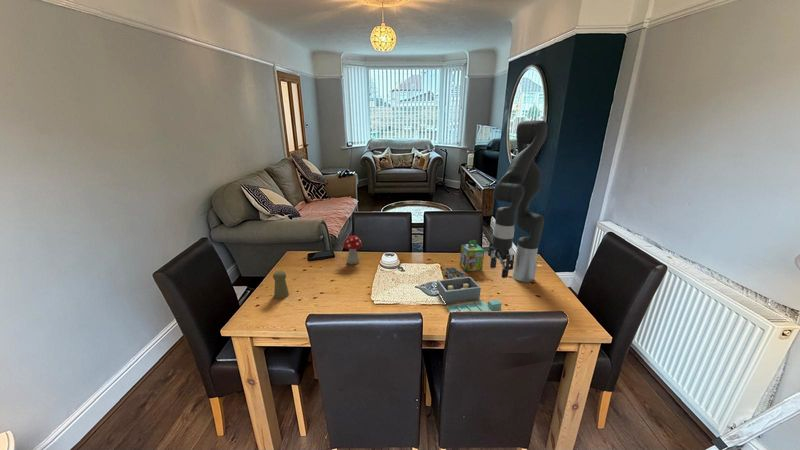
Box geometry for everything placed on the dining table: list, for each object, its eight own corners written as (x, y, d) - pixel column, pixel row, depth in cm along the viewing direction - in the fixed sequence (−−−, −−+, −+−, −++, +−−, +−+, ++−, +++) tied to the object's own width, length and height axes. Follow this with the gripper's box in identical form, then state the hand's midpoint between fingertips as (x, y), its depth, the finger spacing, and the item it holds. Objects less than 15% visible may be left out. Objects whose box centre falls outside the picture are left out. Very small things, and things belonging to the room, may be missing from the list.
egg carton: (466, 281, 156) (467, 273, 155) (452, 283, 154) (453, 276, 152) (455, 271, 166) (456, 264, 164) (442, 273, 163) (442, 266, 162)
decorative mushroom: (359, 257, 178) (359, 232, 173) (364, 264, 171) (364, 237, 166) (341, 260, 174) (340, 234, 169) (346, 267, 167) (345, 240, 162)
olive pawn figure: (280, 300, 137) (277, 277, 133) (271, 296, 140) (268, 273, 136) (292, 294, 141) (289, 271, 138) (282, 290, 144) (280, 267, 141)
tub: (469, 288, 149) (470, 276, 148) (479, 299, 140) (480, 287, 138) (436, 292, 146) (437, 280, 144) (444, 304, 136) (445, 291, 134)
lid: (492, 301, 140) (492, 294, 139) (506, 315, 130) (507, 308, 129) (446, 307, 134) (446, 301, 133) (457, 323, 125) (457, 316, 124)
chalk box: (466, 272, 165) (468, 245, 160) (459, 264, 173) (461, 238, 168) (482, 270, 167) (485, 244, 162) (475, 263, 175) (477, 237, 170)
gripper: (523, 240, 118) (517, 280, 124) (501, 227, 131) (497, 263, 137) (504, 242, 117) (499, 282, 122) (485, 229, 130) (481, 265, 135)
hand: (498, 272), depth 129 cm, fingers open, 8 cm apart
